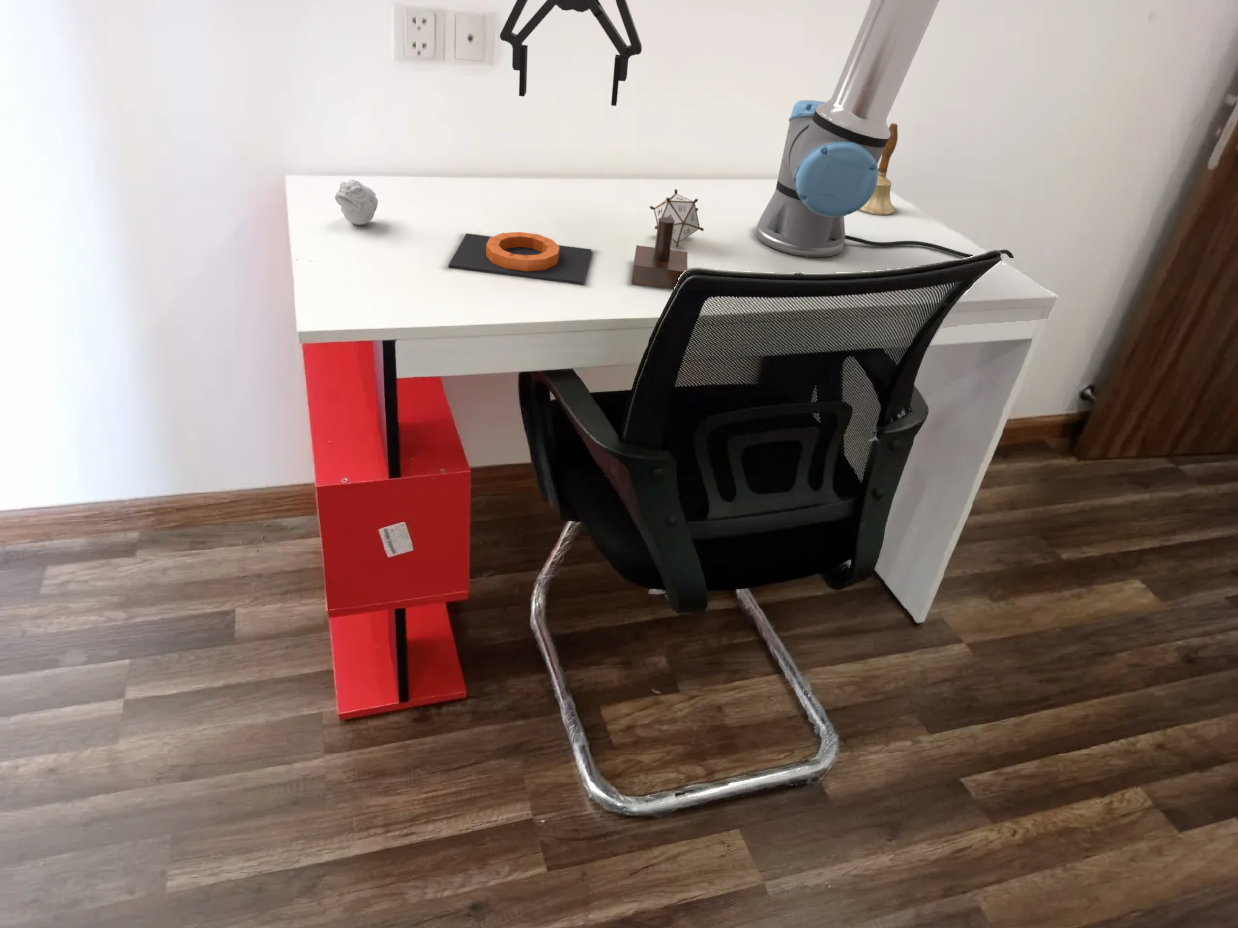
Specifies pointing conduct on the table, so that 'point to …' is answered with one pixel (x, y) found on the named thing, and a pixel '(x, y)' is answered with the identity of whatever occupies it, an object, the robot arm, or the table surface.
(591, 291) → the table surface
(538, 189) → the table surface
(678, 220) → the game die
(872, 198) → the hand bell
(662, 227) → the post
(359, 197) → the frog figurine
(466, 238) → the mat
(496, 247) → the ring
